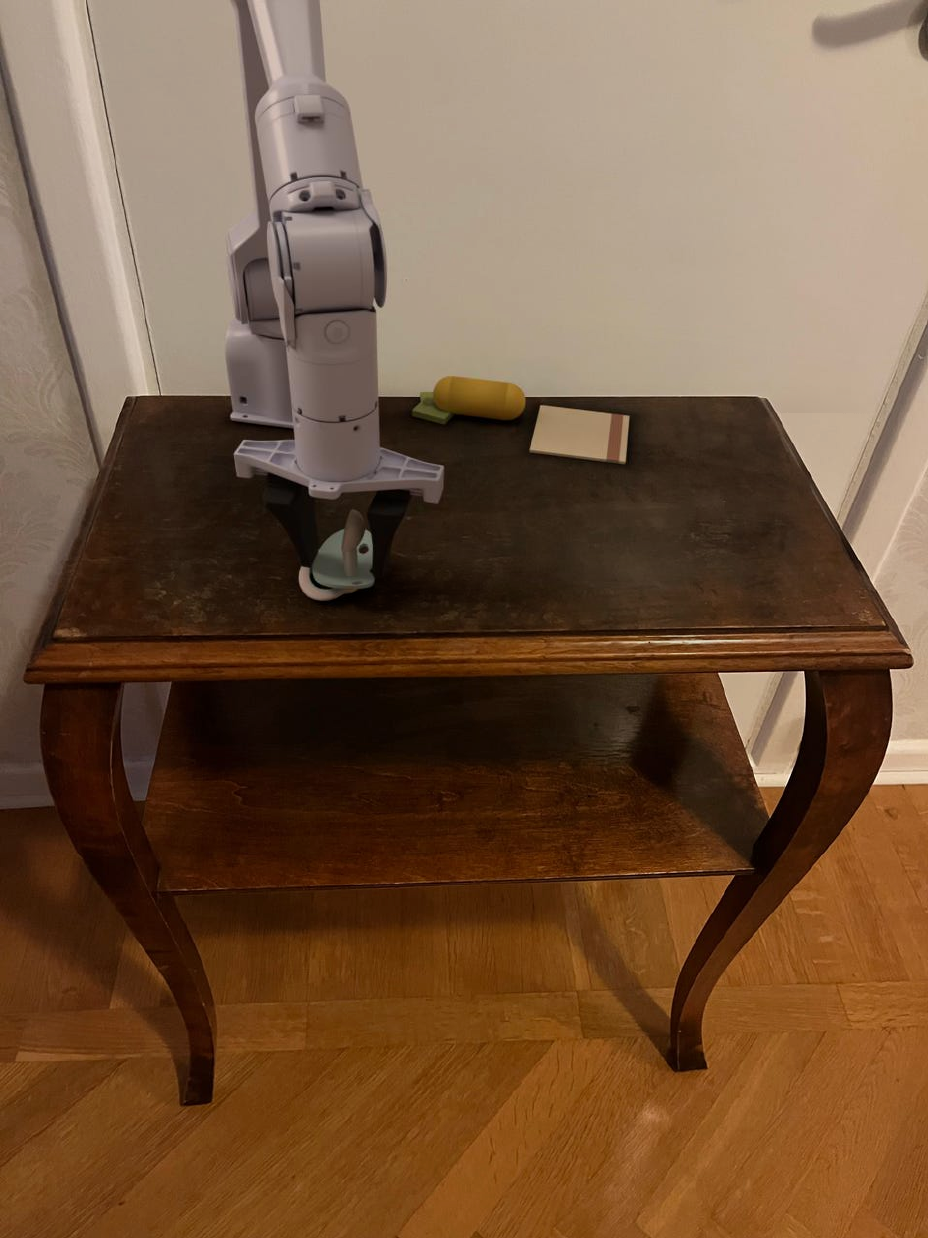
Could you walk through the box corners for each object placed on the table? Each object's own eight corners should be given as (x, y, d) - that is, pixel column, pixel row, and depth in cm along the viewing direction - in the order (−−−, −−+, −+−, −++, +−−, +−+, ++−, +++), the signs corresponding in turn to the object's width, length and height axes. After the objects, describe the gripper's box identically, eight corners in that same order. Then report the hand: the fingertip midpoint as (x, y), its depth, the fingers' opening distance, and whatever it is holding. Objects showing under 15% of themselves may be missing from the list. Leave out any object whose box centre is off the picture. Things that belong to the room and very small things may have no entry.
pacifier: (292, 609, 67) (373, 610, 67) (281, 540, 63) (367, 542, 63) (307, 550, 73) (382, 551, 73) (298, 483, 69) (377, 485, 68)
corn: (409, 420, 89) (409, 386, 86) (422, 393, 93) (422, 360, 91) (520, 434, 88) (523, 400, 85) (527, 406, 92) (530, 373, 90)
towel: (529, 452, 85) (529, 449, 85) (540, 407, 92) (540, 404, 92) (625, 464, 84) (625, 461, 84) (629, 418, 91) (629, 415, 91)
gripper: (206, 417, 57) (234, 583, 66) (430, 445, 56) (427, 612, 65) (246, 368, 63) (266, 528, 72) (451, 393, 61) (446, 554, 70)
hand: (344, 564), depth 69 cm, fingers closed on pacifier, 5 cm apart
